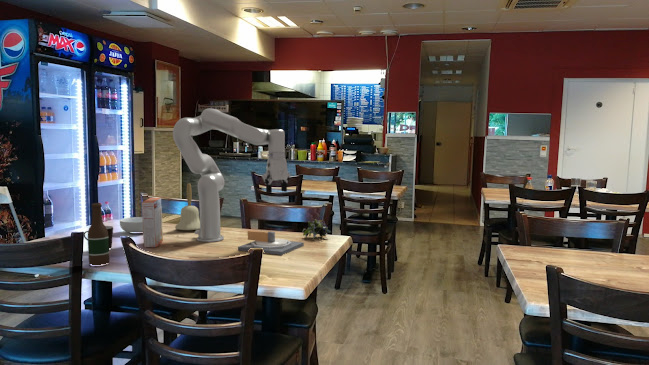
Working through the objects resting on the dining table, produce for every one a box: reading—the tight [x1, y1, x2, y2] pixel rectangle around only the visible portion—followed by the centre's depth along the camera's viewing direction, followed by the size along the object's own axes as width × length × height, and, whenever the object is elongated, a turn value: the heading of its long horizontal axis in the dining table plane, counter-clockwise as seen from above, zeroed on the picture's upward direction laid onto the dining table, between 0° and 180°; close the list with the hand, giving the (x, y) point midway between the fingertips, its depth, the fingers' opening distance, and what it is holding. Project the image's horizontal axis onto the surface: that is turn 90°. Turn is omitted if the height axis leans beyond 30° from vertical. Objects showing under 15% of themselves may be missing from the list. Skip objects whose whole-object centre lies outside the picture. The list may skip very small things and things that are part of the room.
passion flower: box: [301, 219, 332, 240], centre depth 243 cm, size 11×11×12 cm
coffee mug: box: [83, 225, 114, 248], centre depth 218 cm, size 12×9×10 cm
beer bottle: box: [87, 202, 110, 265], centre depth 193 cm, size 8×8×24 cm
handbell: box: [174, 183, 200, 231], centre depth 263 cm, size 15×15×25 cm
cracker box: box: [141, 197, 164, 248], centre depth 229 cm, size 14×6×21 cm, turn 6°
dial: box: [247, 230, 287, 247], centre depth 223 cm, size 19×14×5 cm
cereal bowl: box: [119, 216, 143, 233], centre depth 257 cm, size 17×17×7 cm
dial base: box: [237, 239, 305, 256], centre depth 222 cm, size 22×20×2 cm
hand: (276, 192), depth 235 cm, fingers open, 9 cm apart
